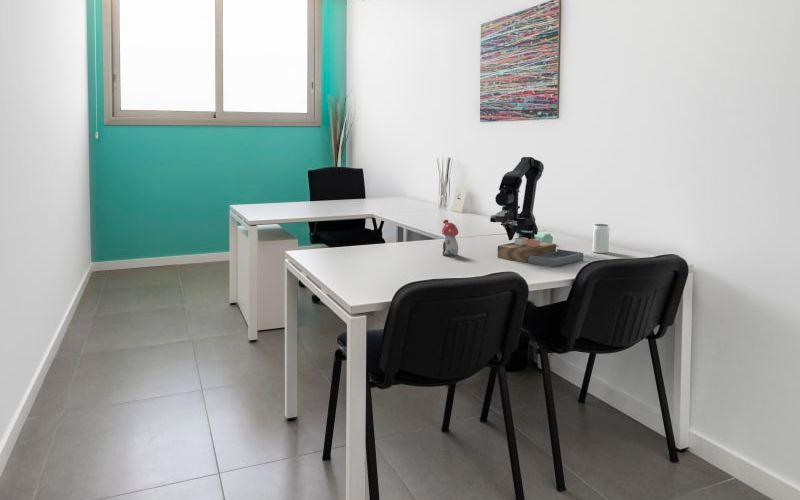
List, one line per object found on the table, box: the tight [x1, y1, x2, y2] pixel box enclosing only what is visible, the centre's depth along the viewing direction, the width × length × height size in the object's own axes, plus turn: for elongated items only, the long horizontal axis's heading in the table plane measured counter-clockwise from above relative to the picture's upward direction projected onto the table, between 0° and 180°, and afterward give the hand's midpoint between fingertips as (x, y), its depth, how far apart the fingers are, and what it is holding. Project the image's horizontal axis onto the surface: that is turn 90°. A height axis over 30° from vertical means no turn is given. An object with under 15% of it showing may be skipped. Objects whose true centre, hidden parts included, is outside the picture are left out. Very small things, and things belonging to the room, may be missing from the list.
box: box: [527, 248, 584, 268], centre depth 245 cm, size 13×20×3 cm, turn 132°
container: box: [516, 231, 554, 244], centre depth 294 cm, size 6×6×25 cm
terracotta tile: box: [526, 239, 540, 247], centre depth 253 cm, size 4×4×2 cm
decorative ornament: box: [441, 219, 459, 257], centre depth 260 cm, size 9×6×15 cm
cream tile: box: [513, 236, 528, 245], centre depth 257 cm, size 4×4×2 cm
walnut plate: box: [497, 241, 557, 263], centre depth 255 cm, size 15×20×5 cm
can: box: [592, 223, 610, 255], centre depth 262 cm, size 6×6×12 cm
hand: (510, 240), depth 261 cm, fingers closed
